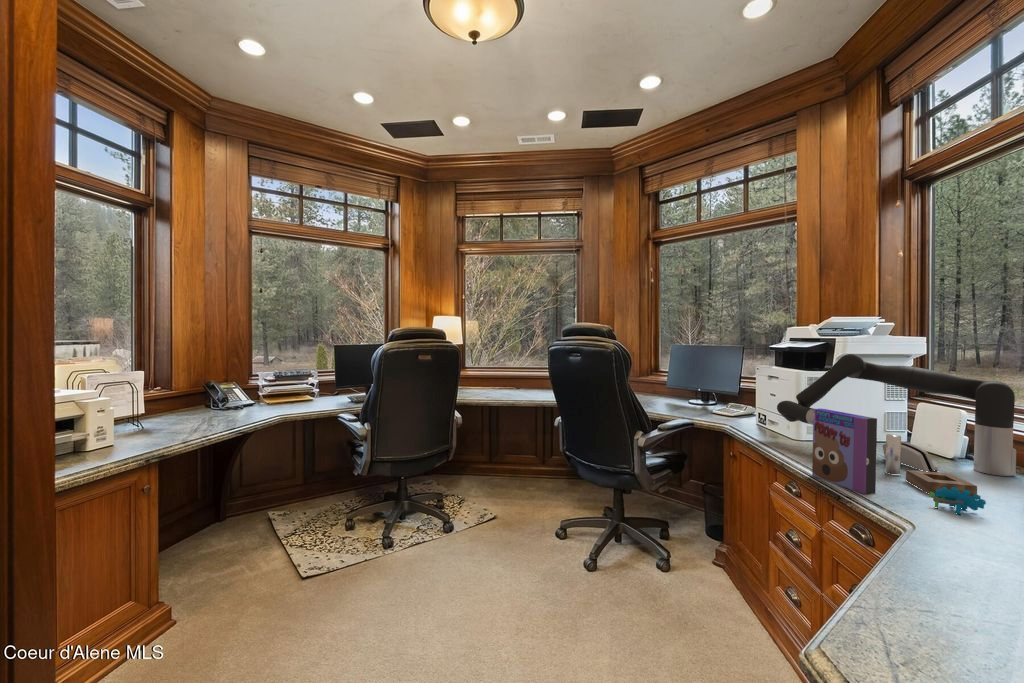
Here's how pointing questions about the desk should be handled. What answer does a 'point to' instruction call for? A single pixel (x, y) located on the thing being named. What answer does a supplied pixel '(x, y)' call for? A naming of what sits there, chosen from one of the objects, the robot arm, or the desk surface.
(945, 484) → the socket block
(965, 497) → the toy stegosaurus
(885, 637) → the desk surface
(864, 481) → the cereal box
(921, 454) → the grey curved block
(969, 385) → the robot arm
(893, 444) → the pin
